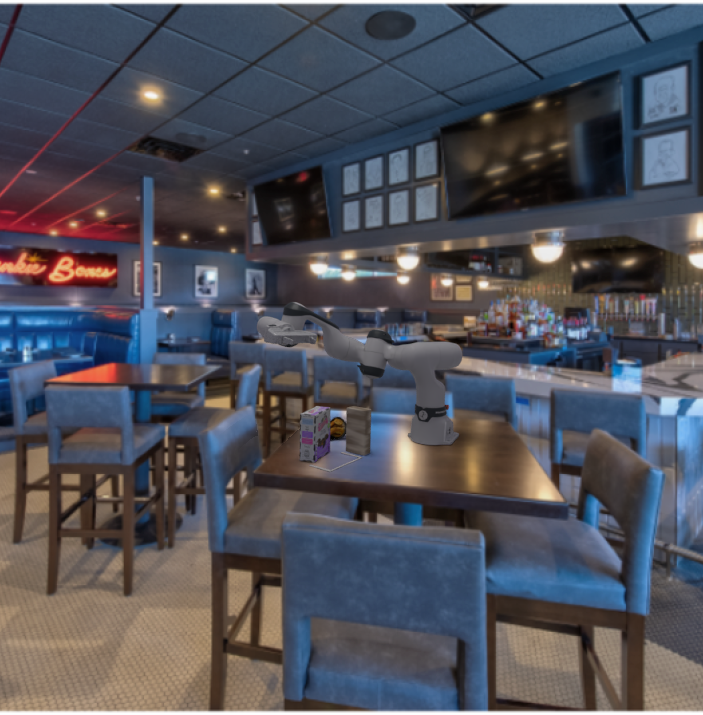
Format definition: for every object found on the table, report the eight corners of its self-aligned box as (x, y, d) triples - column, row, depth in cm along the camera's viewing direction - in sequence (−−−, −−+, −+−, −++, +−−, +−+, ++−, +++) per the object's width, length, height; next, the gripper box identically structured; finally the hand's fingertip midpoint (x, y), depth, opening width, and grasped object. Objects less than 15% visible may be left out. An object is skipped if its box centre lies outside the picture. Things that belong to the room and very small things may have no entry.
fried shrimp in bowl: (357, 426, 186) (331, 420, 172) (343, 449, 187) (316, 445, 173) (342, 414, 191) (315, 407, 177) (329, 436, 192) (301, 431, 178)
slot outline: (342, 452, 167) (342, 451, 167) (362, 457, 162) (362, 457, 162) (308, 465, 153) (308, 465, 153) (329, 472, 148) (329, 471, 148)
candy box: (314, 463, 156) (315, 415, 154) (298, 461, 158) (299, 413, 156) (330, 451, 169) (331, 406, 167) (315, 449, 171) (316, 405, 169)
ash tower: (352, 448, 172) (353, 406, 170) (370, 452, 168) (371, 409, 166) (345, 451, 169) (346, 407, 167) (363, 455, 164) (364, 411, 163)
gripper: (304, 341, 190) (324, 349, 180) (260, 341, 176) (280, 351, 167) (306, 325, 189) (327, 333, 179) (262, 325, 175) (282, 334, 165)
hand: (304, 342), depth 173 cm, fingers open, 8 cm apart
